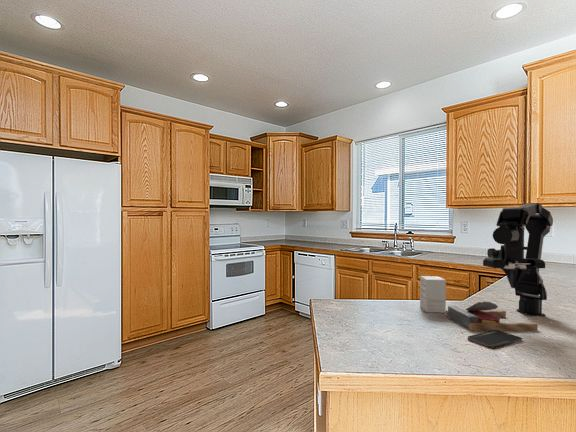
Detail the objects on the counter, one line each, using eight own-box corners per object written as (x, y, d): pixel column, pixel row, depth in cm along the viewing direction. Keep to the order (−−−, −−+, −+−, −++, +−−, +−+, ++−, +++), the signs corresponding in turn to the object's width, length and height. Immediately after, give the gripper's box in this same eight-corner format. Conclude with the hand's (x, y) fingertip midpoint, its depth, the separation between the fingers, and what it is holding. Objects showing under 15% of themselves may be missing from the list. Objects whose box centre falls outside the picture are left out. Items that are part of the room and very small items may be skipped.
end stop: (455, 317, 114) (456, 306, 114) (477, 329, 102) (478, 316, 102) (447, 317, 114) (448, 306, 114) (469, 329, 102) (469, 316, 102)
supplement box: (438, 307, 126) (439, 276, 126) (446, 313, 119) (446, 279, 119) (419, 306, 127) (419, 275, 127) (425, 312, 119) (426, 279, 119)
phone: (465, 336, 93) (496, 329, 100) (465, 340, 93) (496, 333, 100) (493, 347, 86) (524, 338, 93) (493, 351, 86) (524, 342, 93)
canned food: (470, 337, 107) (454, 309, 109) (477, 327, 114) (462, 301, 117) (505, 330, 100) (488, 300, 102) (510, 319, 107) (494, 292, 110)
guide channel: (502, 315, 117) (502, 310, 117) (537, 330, 102) (537, 324, 102) (445, 315, 115) (445, 310, 115) (472, 330, 100) (472, 324, 100)
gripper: (520, 241, 118) (520, 282, 118) (473, 241, 117) (472, 282, 117) (546, 244, 107) (546, 289, 107) (494, 243, 106) (494, 290, 106)
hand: (513, 287), depth 110 cm, fingers closed
